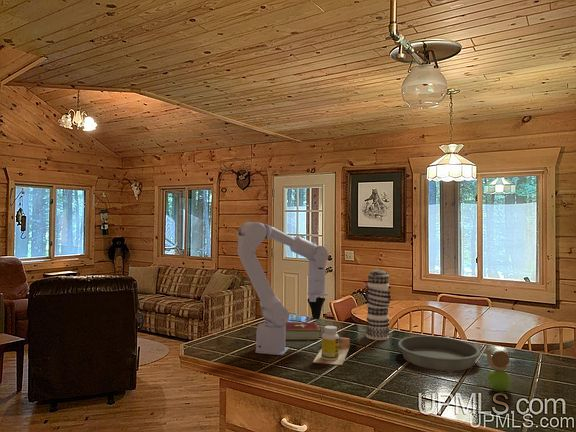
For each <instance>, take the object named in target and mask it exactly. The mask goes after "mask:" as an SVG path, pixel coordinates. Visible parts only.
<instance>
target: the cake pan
mask: <svg viewBox="0 0 576 432" xmlns="http://www.w3.org/2000/svg"><path fill="white" fill-rule="evenodd" d="M397 345H398V347H399V348H400V349H401V351H402V356H403V358H404V359H405V361H406V362H408V361H409V363H410V362H411V363H410V364H412V365H415V366H417V367H421V368H425V369H430V370H436V371H437V370H438V371H447V372H449V371H451V372H453V371H464V370H468V369H470V368H473V366H474V365H475V361H476V357H478V356H479V355H480V354H481V351H480V349H479V348H478V347H477V346H475V345H473V344H472V343H469V342H467V341H464V340H460V339H455V338H452V337H451V338H450V337H445V336H436V335H415V336H407V337H404V338H401V339H400V340H399V341H398V343H397Z"/></svg>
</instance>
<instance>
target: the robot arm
mask: <svg viewBox="0 0 576 432" xmlns="http://www.w3.org/2000/svg"><path fill="white" fill-rule="evenodd" d="M236 233H237V234H236V235H237V256H238V258H239V260H240V263H241V264H242V266H243V268H244V270H245V272H246V274H247V276H248V279H249V280H250V282H251V284H252V286H253V289H254V291H255V293H256V295H257V297H258V299H259V306H260V308H261V316H262V317H263V319H264V321H263V322H262V323H258V325H257V327H256V333H255V337H256V339H255V351H254V352H255V353H257V354H266V355H275V356H284V355H285V354H286V352H287V351H288V350H289V349H290V347H288V346H286V340H287V339H286V323H288V321H289V320H290V313H289V310H288V308H286V307H285V306H284V305H283V304H282V302H281V300H280V299H279V298H278V297H277V295H276V294H275V292H274V290H273V288H272V286H271V284H270V281H269V280H268V278H267V276H266V273H265V272H264V270H263V268H262V267H263V266H262V265H261V264H260V261H259V259H258V257H257V255H256V252H257V249H258V248H259V246H260V245H261V244H262V243H263V241H264V240H268V239H269V240H270V239H271V240H273V241H276V242H279V243H281V244H283V245H286V246H288V247H289V249H290V251H291V252H292V253H295V254H297V255H298V256H299V255H300V256H302V257H304V258H305V259H307V260H308V285H307V286H308V292H307V295H308V297H309V298H307V303H308V304H309V305H308V306H309V307H310V310H311V317H312V319H313V320H317V321H318V320H320V319H321V316H322V315H321V314H322V309H323V306H324V303H325V301H326V296H329V292H326V264H327V263H326V262H327V261H328V259H329V256H330V255H329V253H328V250H327V248H326V247H325V246H324V245H317V242H316V241H310V240H309V239H306V237H305V236H304V235H300V236H299V235H297V236H294V237H293V236H291V235H289V234H288V233H285V232H283V231H281V230H279V229H277V228H276V227H273V226H271V225H269V224H264V223H262V222H260V221H255V222H254V221H253V222H251V221H245V222H243V223H242V224H241V225H240V227H239V228H238V231H237V232H236ZM324 296H325V297H324Z"/></svg>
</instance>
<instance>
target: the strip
mask: <svg viewBox="0 0 576 432" xmlns="http://www.w3.org/2000/svg"><path fill="white" fill-rule="evenodd" d="M350 339H351V338H350V337H341V336H339V357H338V359H337V360H325V359H323V358H322V357H321V354H322V347H321V349H319V351H318V353H317V354H316V356H315V357H314V359H313V361H312V363H314V364H326V365H333V366H334V365H335V366H337V365H338V366H343V364H344V362H345V360H346V357H347V355H348V352H349V350H350V348H351V346H350V345H351V341H350Z"/></svg>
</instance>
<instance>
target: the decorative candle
mask: <svg viewBox="0 0 576 432" xmlns="http://www.w3.org/2000/svg"><path fill="white" fill-rule="evenodd" d="M389 276H390V274H388V272H387V271H386V270H381V269H374V270H373V269H372V270H371V271H369V273H368V274H367V284H366V285H365V289H366V290H365V292H366V296H365V297H366V300H365V301H366V307H367V313H366V314H367V315H366V317H365V319H366V322H365V323H366V325H367V326H366V327H365V329H366V331H365V333H366V335H365V336H366V338H367V339H369V340H370V339H371V340H373V341H386V340H388V339H390V336H389V335H390V332H389V331H390V327H389V326H390V323H389V322H390V319H389V315H390V314H389V307H390V303H391V301H390V300H389V299H391V295H389V294H391V291H390V290H391V288H392V287H391V286H390V283H389V281H390V280H389Z"/></svg>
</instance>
